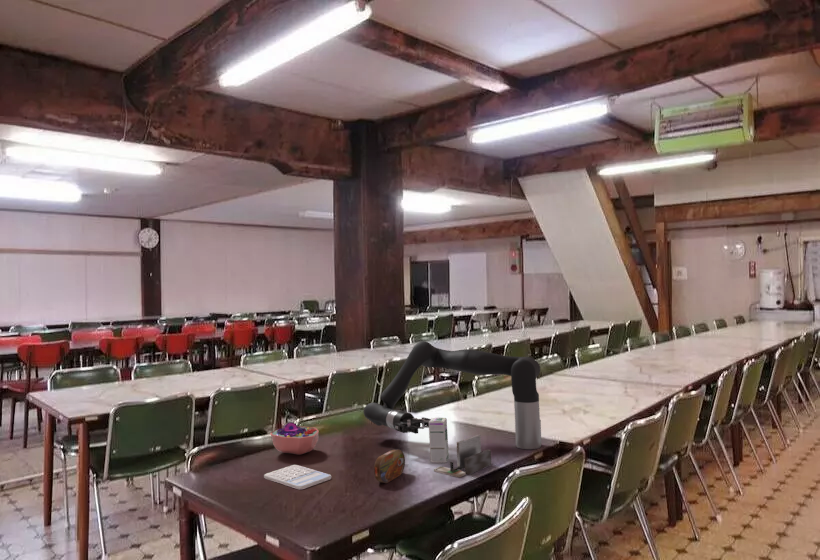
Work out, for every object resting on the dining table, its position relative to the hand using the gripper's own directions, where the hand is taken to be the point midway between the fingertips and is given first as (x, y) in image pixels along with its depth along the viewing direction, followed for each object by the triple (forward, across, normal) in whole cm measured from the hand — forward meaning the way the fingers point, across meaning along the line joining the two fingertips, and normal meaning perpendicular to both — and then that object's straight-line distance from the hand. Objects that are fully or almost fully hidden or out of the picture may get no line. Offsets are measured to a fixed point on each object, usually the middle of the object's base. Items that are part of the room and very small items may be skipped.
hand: (426, 428), depth 207 cm
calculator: (-12, -46, +11) cm, 48 cm away
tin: (+10, -24, +10) cm, 28 cm away
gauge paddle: (+20, 0, +9) cm, 22 cm away
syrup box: (+6, 0, +10) cm, 12 cm away
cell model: (-38, -33, +11) cm, 52 cm away
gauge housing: (+18, +1, +10) cm, 21 cm away
